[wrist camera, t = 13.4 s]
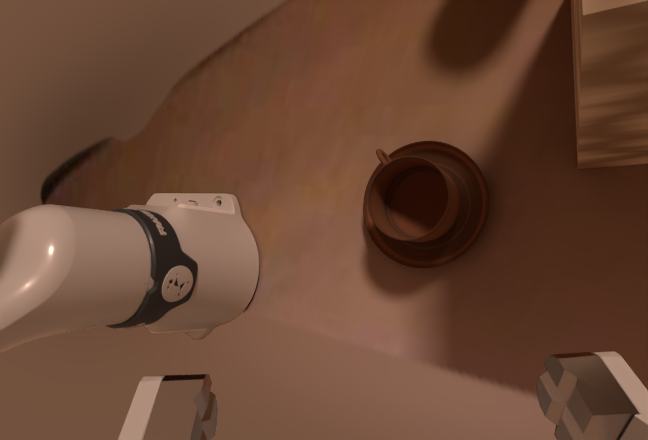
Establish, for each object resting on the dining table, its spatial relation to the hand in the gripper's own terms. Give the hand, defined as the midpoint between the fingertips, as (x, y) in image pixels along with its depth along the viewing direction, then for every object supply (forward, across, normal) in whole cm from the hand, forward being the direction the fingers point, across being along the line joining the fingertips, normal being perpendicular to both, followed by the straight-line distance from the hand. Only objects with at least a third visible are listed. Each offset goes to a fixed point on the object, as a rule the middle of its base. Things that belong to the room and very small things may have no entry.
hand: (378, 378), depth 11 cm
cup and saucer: (+29, +10, -14) cm, 34 cm away
